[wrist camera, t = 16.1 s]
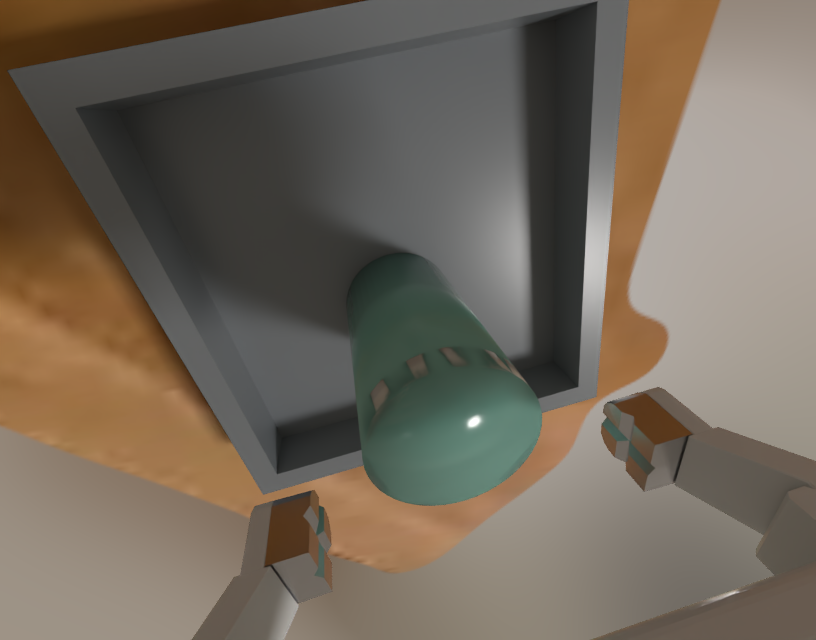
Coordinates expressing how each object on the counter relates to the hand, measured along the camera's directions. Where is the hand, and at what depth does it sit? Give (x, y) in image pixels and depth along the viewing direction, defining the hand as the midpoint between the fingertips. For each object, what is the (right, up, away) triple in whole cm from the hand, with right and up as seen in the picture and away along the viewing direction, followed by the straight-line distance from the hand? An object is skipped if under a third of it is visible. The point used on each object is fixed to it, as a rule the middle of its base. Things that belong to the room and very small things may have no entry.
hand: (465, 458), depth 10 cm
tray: (-3, +7, +10) cm, 12 cm away
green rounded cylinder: (-2, +5, +10) cm, 11 cm away
